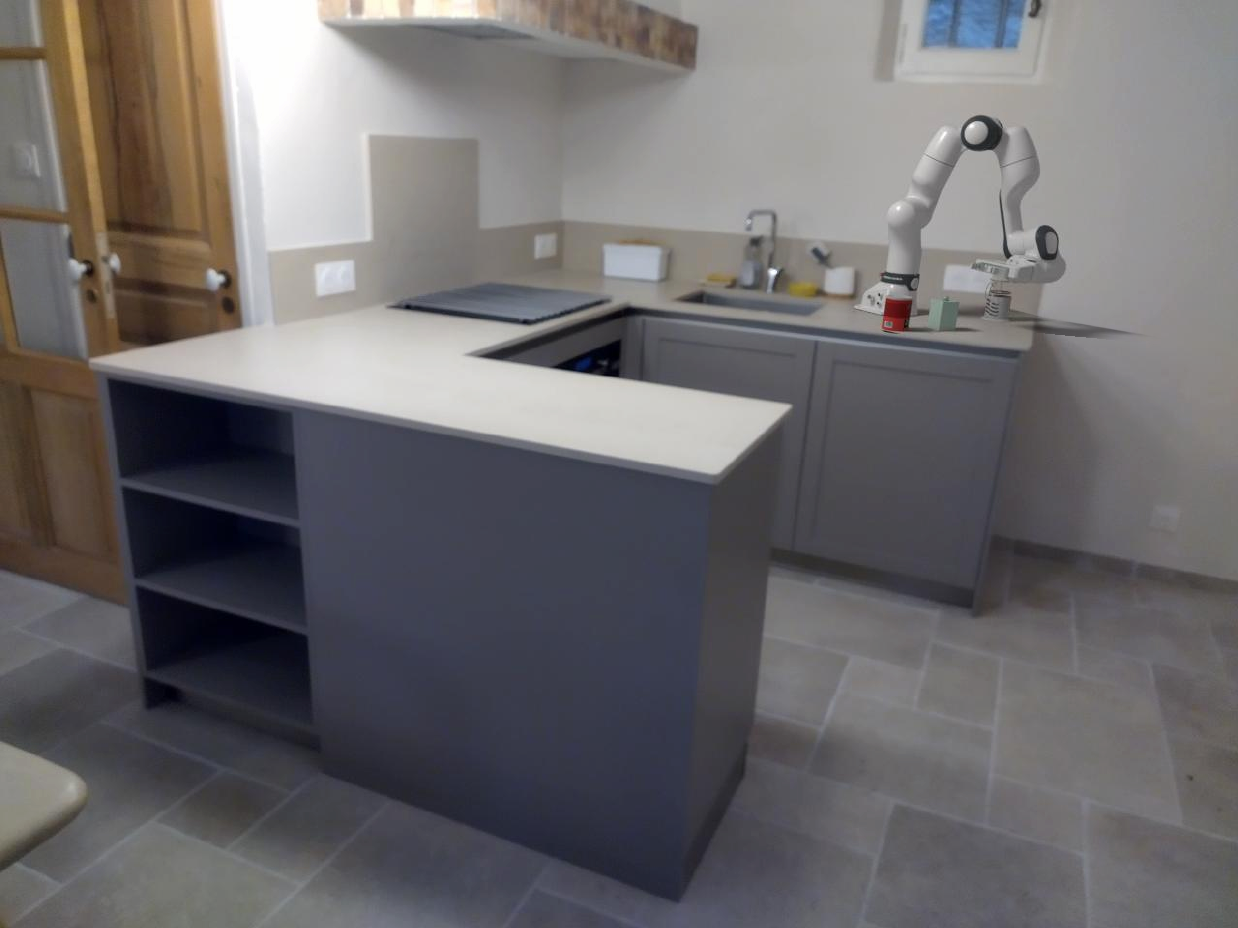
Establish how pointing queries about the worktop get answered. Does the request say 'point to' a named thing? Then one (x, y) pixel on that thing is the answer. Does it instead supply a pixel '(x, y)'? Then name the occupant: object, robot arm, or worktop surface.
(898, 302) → the canned food
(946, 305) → the mint green square bottle
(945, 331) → the trivet
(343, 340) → the worktop surface
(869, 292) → the robot arm
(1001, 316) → the french press
